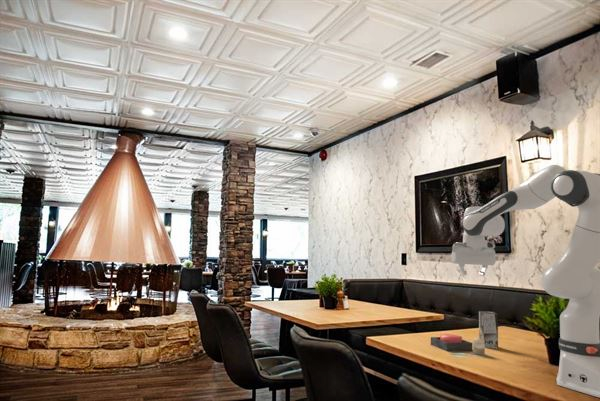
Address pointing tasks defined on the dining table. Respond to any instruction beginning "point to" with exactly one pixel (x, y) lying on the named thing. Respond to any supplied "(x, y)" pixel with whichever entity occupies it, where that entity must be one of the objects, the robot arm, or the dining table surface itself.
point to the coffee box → (488, 328)
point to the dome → (451, 338)
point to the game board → (454, 347)
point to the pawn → (479, 347)
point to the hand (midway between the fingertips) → (473, 275)
